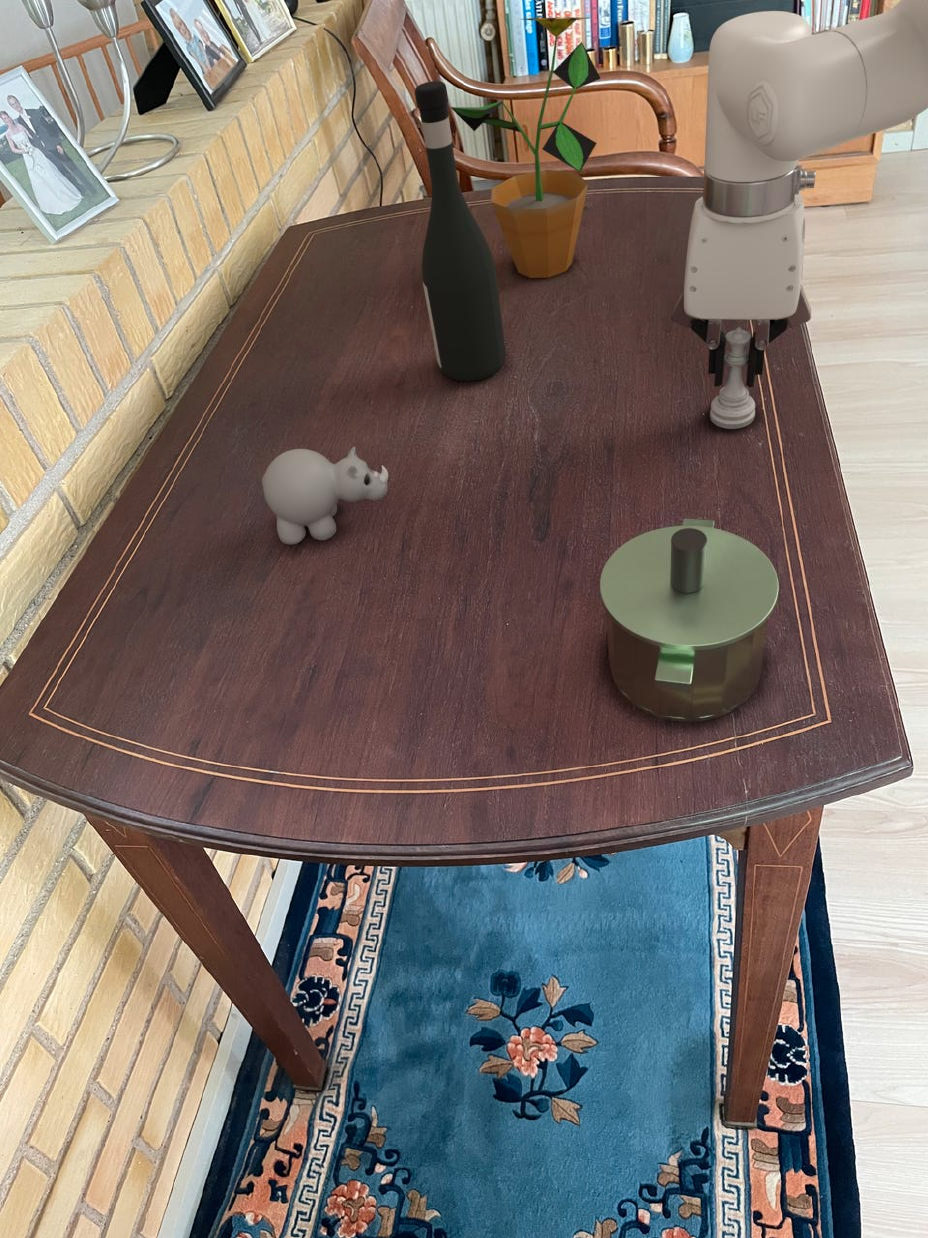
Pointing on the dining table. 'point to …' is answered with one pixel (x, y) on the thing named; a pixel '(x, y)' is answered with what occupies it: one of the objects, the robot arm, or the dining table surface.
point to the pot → (685, 672)
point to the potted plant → (544, 175)
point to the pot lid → (689, 587)
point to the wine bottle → (456, 259)
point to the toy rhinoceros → (316, 491)
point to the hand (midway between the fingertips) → (734, 377)
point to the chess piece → (734, 387)
